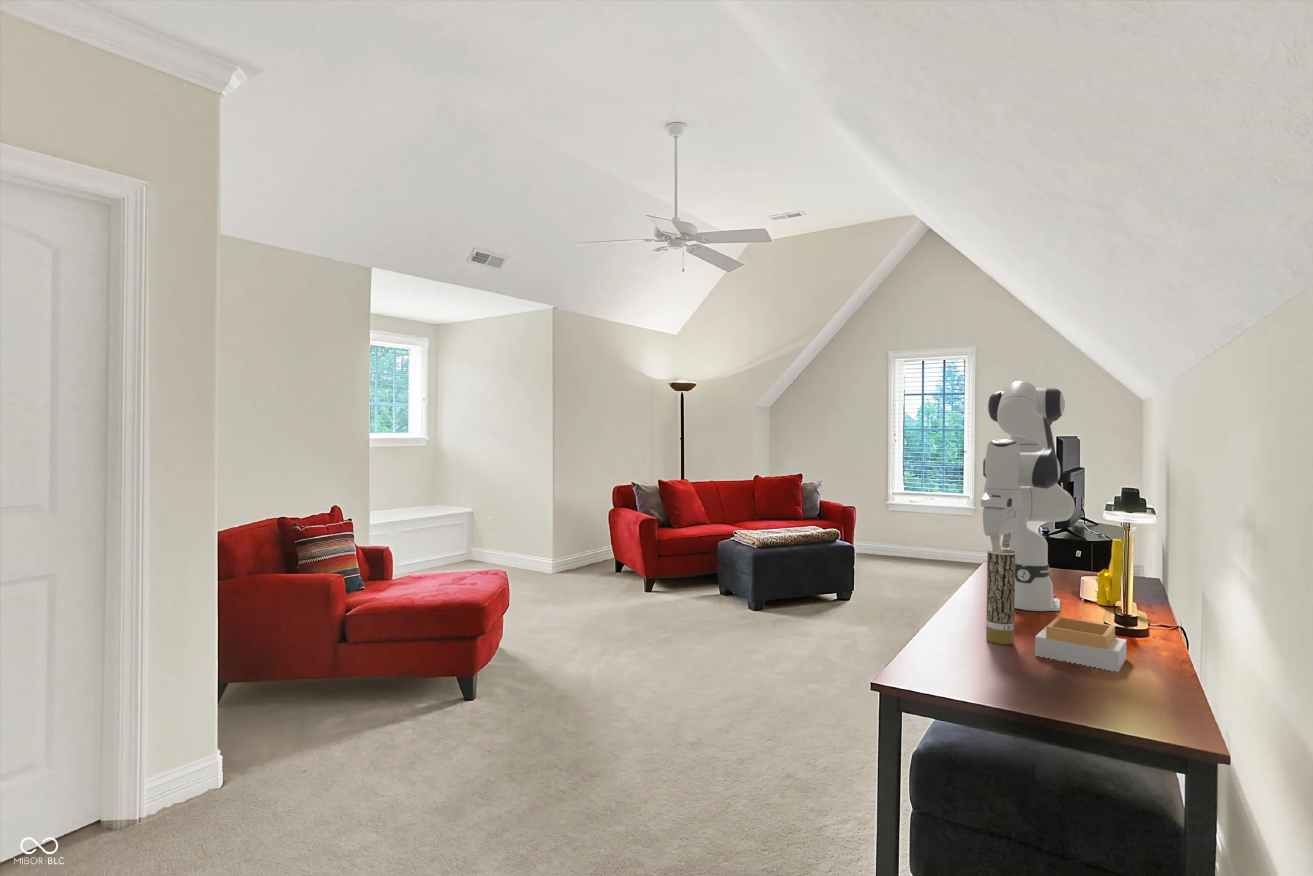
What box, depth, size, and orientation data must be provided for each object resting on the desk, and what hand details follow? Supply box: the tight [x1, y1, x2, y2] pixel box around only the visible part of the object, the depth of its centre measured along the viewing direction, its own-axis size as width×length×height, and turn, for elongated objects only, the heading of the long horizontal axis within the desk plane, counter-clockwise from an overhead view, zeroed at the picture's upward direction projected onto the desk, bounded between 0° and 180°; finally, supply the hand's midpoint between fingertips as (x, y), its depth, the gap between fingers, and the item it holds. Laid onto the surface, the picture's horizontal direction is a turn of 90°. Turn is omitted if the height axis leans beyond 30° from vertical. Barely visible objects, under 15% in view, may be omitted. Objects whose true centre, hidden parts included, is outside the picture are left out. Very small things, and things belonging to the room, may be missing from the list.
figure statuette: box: [1095, 538, 1124, 607], centre depth 230 cm, size 18×8×22 cm, turn 158°
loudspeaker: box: [1034, 616, 1128, 673], centre depth 177 cm, size 13×18×8 cm
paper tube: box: [985, 548, 1015, 646], centre depth 189 cm, size 7×7×25 cm
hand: (1001, 549), depth 189 cm, fingers open, 8 cm apart
